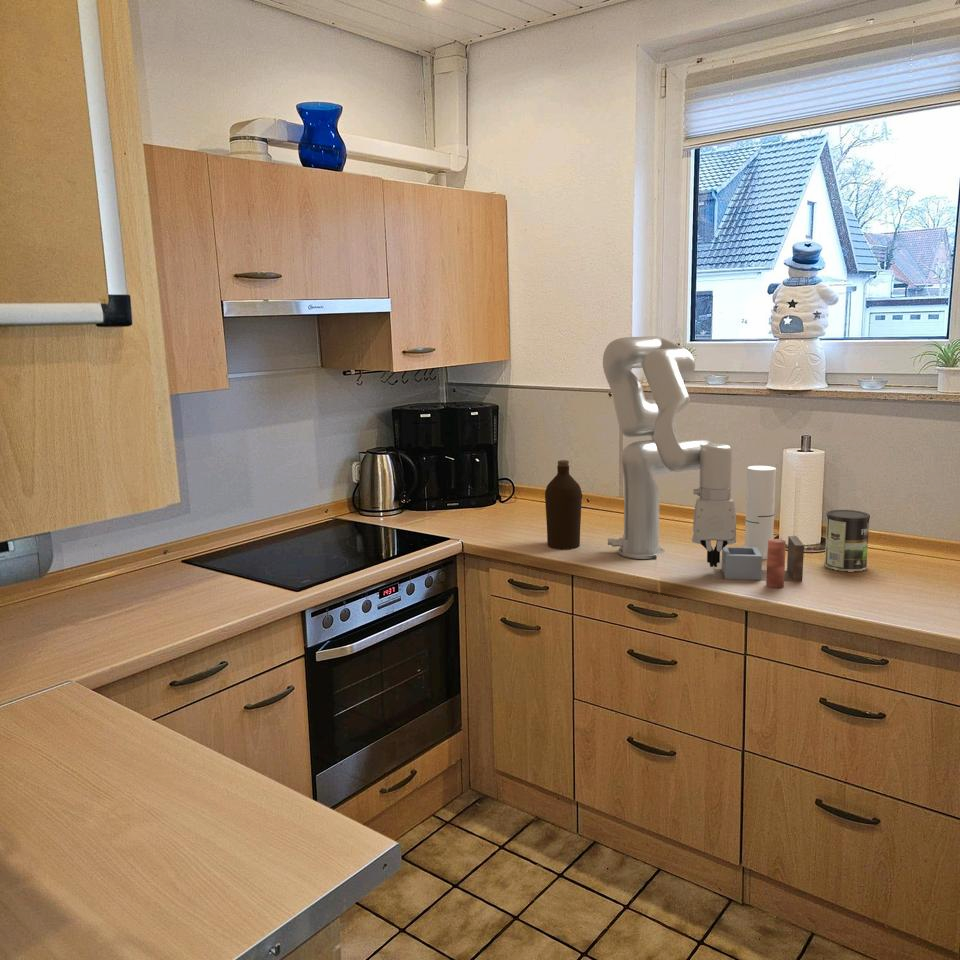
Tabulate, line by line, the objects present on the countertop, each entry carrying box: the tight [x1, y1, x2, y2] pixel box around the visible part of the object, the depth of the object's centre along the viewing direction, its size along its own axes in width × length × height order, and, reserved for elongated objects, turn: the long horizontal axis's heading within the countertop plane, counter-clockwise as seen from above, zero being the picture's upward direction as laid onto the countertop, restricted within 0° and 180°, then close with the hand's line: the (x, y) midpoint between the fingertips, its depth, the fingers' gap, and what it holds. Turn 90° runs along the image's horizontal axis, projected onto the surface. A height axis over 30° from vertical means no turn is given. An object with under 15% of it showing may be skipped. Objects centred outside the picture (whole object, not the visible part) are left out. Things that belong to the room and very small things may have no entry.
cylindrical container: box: [744, 465, 777, 560], centre depth 227 cm, size 7×7×25 cm
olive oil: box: [544, 459, 583, 550], centre depth 245 cm, size 11×11×25 cm
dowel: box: [765, 538, 787, 589], centre depth 202 cm, size 4×4×12 cm
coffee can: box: [823, 509, 871, 573], centre depth 219 cm, size 10×10×14 cm
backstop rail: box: [713, 535, 805, 583], centre depth 211 cm, size 20×9×10 cm, turn 80°
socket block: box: [720, 546, 763, 581], centre depth 212 cm, size 8×8×6 cm
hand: (713, 565), depth 213 cm, fingers closed
